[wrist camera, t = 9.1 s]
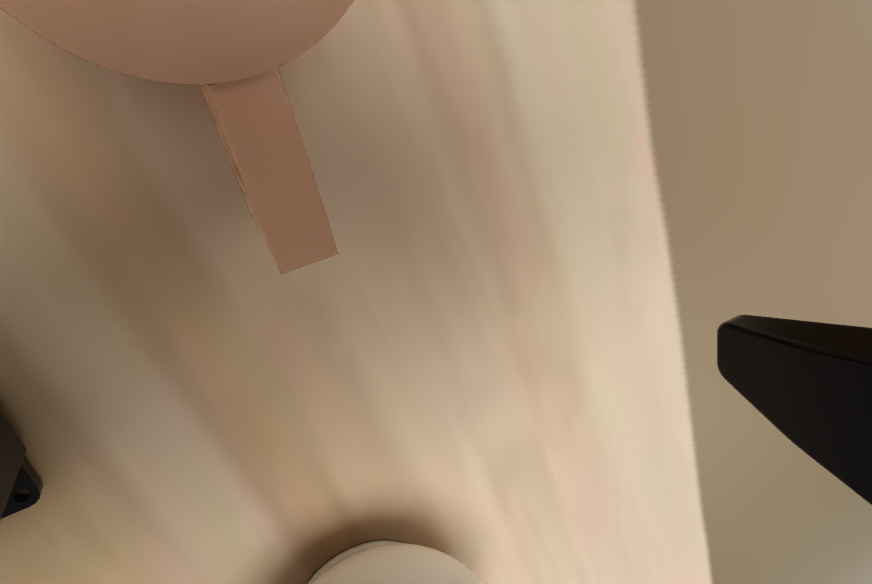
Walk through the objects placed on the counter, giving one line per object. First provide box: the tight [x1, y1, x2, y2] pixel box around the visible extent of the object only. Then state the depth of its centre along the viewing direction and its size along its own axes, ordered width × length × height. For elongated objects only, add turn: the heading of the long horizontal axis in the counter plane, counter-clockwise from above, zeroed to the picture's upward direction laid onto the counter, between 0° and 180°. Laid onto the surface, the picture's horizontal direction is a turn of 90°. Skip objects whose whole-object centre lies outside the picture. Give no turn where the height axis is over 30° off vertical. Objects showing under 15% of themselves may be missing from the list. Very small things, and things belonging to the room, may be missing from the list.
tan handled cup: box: [0, 0, 353, 274], centre depth 12 cm, size 6×10×9 cm, turn 12°
